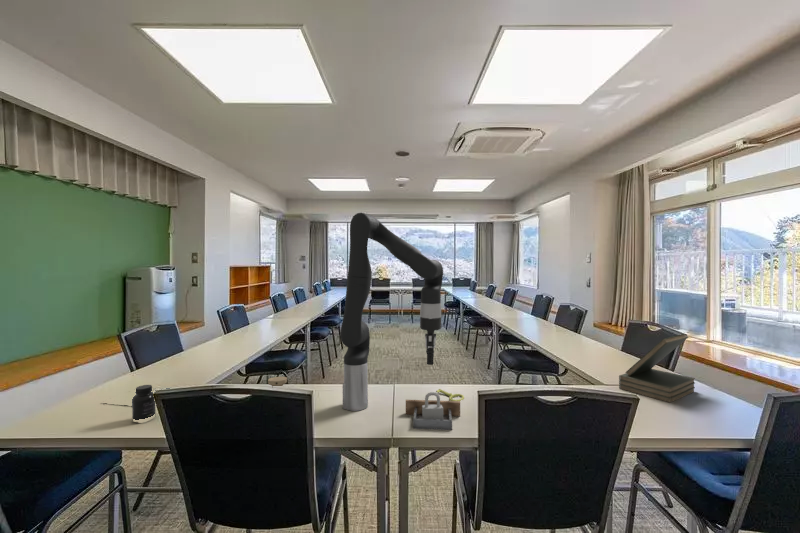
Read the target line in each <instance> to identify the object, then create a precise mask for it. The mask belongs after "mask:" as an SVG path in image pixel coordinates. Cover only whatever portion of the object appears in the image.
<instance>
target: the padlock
mask: <svg viewBox="0 0 800 533" xmlns="http://www.w3.org/2000/svg"><path fill="white" fill-rule="evenodd" d="M430 396H435V397H436V400H437V405H435V404H434V405H428V400H429V398H430ZM424 400H425V405H422V419H439V420H443V407H442V405H440V401H441V397H440V394H439V393H437V392H434V391H431V392H427V393H426V394H425V397H424Z"/></svg>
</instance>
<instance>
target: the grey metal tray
mask: <svg viewBox="0 0 800 533" xmlns="http://www.w3.org/2000/svg"><path fill="white" fill-rule="evenodd" d="M452 417H453V416H451V408H448V415H447V414H443V420H439V419H422V414H417V407H415V411H414V415H413V417H412V418H413V420H412V425H413V426H412V427H413V430H414V429H417V430H418V429H419V430H420V429H421V430H422V429H423V430H442V431H443V430H445V431H446V430H447V431H452V430H453V418H452Z"/></svg>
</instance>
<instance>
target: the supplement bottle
mask: <svg viewBox="0 0 800 533" xmlns="http://www.w3.org/2000/svg"><path fill="white" fill-rule="evenodd" d="M152 388H153V385H152V384H144V385H139V386H136V387H135V389H136V392H135V393H136V395H135V396H134V397H133V399H132V408H131V410H132V411H131V413H132V418H133V419H135V420H139V419H145V418H148V417H151V416H153V415H154V414H155V415H156V405H155V401H154V397H153V392H151V391H152Z"/></svg>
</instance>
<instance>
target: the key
mask: <svg viewBox="0 0 800 533" xmlns="http://www.w3.org/2000/svg"><path fill="white" fill-rule="evenodd" d="M436 393H438V394H439V393H441V394H443V395H445V396H448V397H449V398H448V401H460V402H462V401H464V399H465V396H464V394H461V393H454V394H453V393H452V392H450V393H449V392H447V391H445V390H443V389H441V388H438V389H437V390H436ZM458 396H460V397H459V399H454V398H456V397H457V398H458ZM461 400H462V401H461Z"/></svg>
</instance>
